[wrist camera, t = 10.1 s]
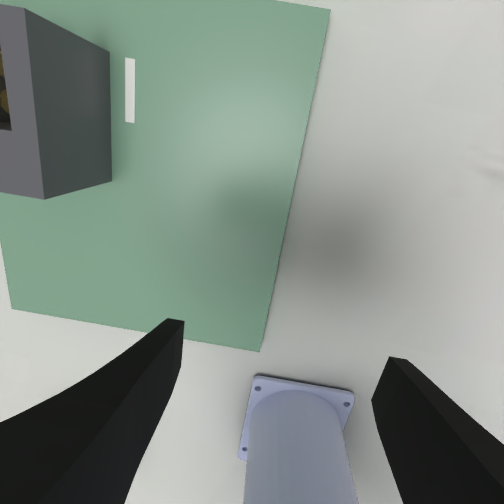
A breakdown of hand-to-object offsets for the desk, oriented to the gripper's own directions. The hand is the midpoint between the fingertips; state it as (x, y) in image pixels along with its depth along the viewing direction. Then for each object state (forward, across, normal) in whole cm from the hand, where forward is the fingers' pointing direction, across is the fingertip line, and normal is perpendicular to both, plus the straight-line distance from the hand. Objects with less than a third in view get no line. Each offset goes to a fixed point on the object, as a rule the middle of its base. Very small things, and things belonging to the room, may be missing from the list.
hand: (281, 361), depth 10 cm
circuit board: (+10, +9, -3) cm, 14 cm away
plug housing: (+9, +13, -7) cm, 17 cm away
